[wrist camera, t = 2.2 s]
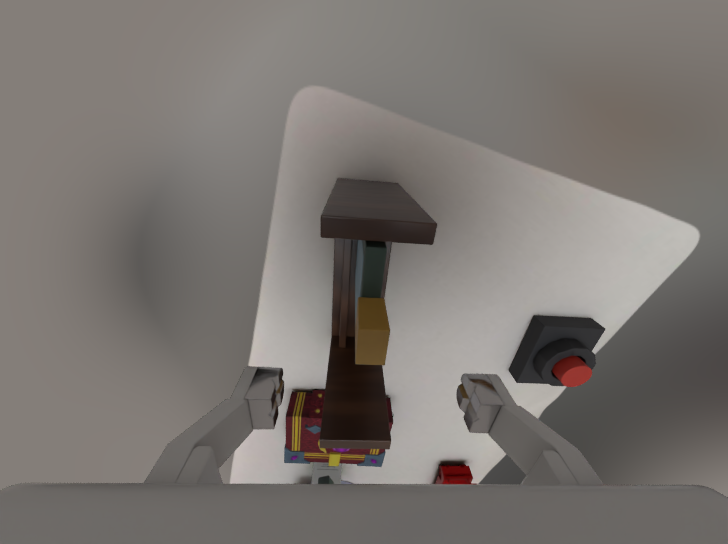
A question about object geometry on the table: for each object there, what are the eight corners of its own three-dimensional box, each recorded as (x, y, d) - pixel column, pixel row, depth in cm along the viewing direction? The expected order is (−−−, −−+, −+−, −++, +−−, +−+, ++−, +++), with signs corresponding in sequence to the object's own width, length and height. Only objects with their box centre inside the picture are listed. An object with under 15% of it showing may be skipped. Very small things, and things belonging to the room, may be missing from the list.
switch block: (533, 315, 34) (554, 336, 30) (591, 318, 34) (618, 338, 31) (508, 370, 38) (524, 394, 35) (559, 372, 39) (580, 395, 35)
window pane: (358, 199, 25) (363, 271, 11) (375, 200, 25) (399, 273, 12) (353, 279, 29) (351, 404, 15) (367, 280, 29) (378, 405, 15)
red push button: (558, 354, 32) (569, 365, 31) (586, 355, 33) (597, 366, 31) (547, 375, 34) (556, 386, 32) (573, 376, 34) (583, 387, 33)
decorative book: (291, 387, 39) (283, 419, 34) (398, 394, 40) (403, 426, 36) (290, 433, 44) (283, 467, 39) (385, 438, 45) (388, 471, 41)
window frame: (337, 177, 26) (320, 215, 13) (398, 182, 26) (437, 223, 13) (332, 336, 35) (319, 448, 22) (377, 338, 35) (389, 449, 22)
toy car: (439, 459, 49) (447, 491, 44) (468, 458, 49) (479, 490, 44) (427, 496, 55) (433, 528, 50) (453, 496, 55) (461, 527, 51)
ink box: (340, 476, 50) (336, 565, 40) (314, 475, 50) (303, 565, 39) (342, 449, 46) (339, 541, 36) (314, 449, 46) (302, 541, 35)
